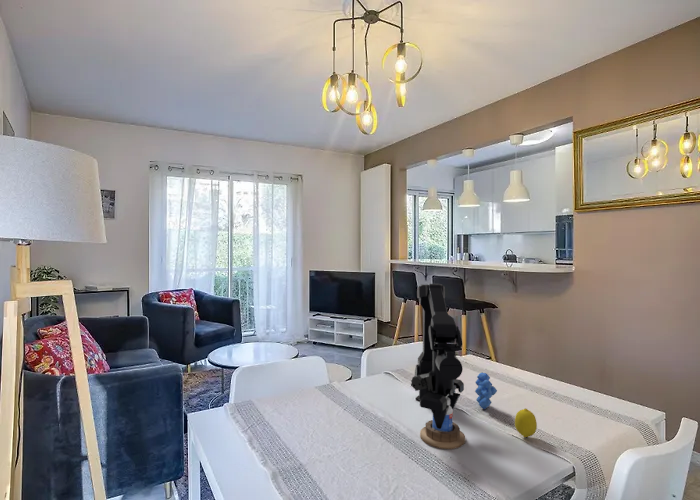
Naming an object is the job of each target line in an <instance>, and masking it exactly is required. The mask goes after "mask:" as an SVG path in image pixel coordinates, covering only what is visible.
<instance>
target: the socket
mask: <svg viewBox="0 0 700 500" xmlns="http://www.w3.org/2000/svg"><path fill="white" fill-rule="evenodd" d="M432 423H433V419H430V420H428V421H427V422H426V423H425V426H424V427H422V428H421V429H420V432H419V433H420V434H419V437H420V438H419V439H421V441H422V442H423V443H425V444H426V445H427V446H430V447H433V448H436V449H439V450H440V449H441V450H453V449H454V450H455V449H458V448H462V447H463V446H464V445H465V444H466V435H465V433H464V432H463V431H462V430H461V428H460V426H459V424H457V423H456V422H454V421H453V428H452V431H450V432H440V431H436V430H434V429H433V428H432Z"/></svg>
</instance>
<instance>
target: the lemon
mask: <svg viewBox="0 0 700 500" xmlns="http://www.w3.org/2000/svg"><path fill="white" fill-rule="evenodd" d="M514 418H515V419H514V426H515V428H516V431H517V433H519V435H520V436H523V437H524V438H525V437H527V438H528V437H531V436H533V435H535V433H536V431H537V427H538V422H537V417H536V416H535V414H534V413H533V412H532V411H531V410H529V409H528V408H523V409H520V410H518V411H517V412H516V414H515V417H514Z"/></svg>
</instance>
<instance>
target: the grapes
mask: <svg viewBox="0 0 700 500" xmlns="http://www.w3.org/2000/svg"><path fill="white" fill-rule="evenodd" d="M476 377H477V379H476V381H475V384H476V386H477V388H476V389H475V391H474V392H475V394H476V395H477V398H476V402H477V403H478V406H479V407H480V408H481V409H482V408H483V410H486V409H487V408H489V407H490V405H491V404H492V400H491V398H492V397H493V396H494V395H495V394H497V392H498V390H497V388H496V387H495V386H493V383H492V382H491V380H490V379H491V377H490V376H489V374H488V373H486V372H480V373H479V374H478V375H477V376H476Z"/></svg>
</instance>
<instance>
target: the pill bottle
mask: <svg viewBox="0 0 700 500" xmlns="http://www.w3.org/2000/svg"><path fill="white" fill-rule="evenodd" d="M446 399H447V405H450V398H448V397H446ZM453 411H454V409H452V407H451V406H449V409H448V411H447V414H446V417H445V419H444V422H443V425H442V427H441V429H439V428H437V427H436V423H435V420H434V416H433V415H432V420H433V423H432V428H433V429H434V430H436V431H440V432H450V431H452V428H453V422H454V421H453V420H454V419H453V416H454V414H453V413H454V412H453Z"/></svg>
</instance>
